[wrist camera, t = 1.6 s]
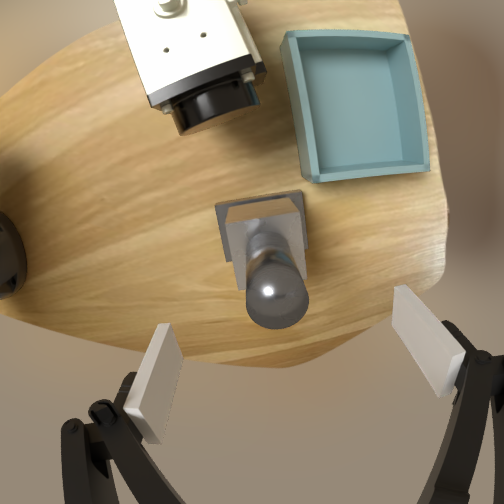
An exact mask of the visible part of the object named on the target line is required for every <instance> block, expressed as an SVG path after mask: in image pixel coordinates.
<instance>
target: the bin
mask: <svg viewBox="0 0 504 504" xmlns="http://www.w3.org/2000/svg"><path fill="white" fill-rule="evenodd" d="M280 51H281V56H282V61H283V66H284V71H285V76H286V82H287V87H288V92H289V98H290V104H291V109H292V115H293V121H294V127H295V133H296V140H297V146H298V153H299V160H300V167H301V174H302V177H303V178H305V179H307V180H308V181H310V182H311V183H320V182H328V181H336V180H344V179H352V178H361V177H370V176H380V175H390V174H401V173H413V172H425V171H430V161H429V148H428V137H427V128H426V119H425V112H424V105H423V99H422V92H421V87H420V81H419V76H418V71H417V66H416V62H415V57H414V53H413V49H412V45H411V41H410V37H409V35H406V34H398V33H389V32H378V31H364V30H296V31H286V33H285V36H284V38H283V41H282V44H281V46H280Z"/></svg>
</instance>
